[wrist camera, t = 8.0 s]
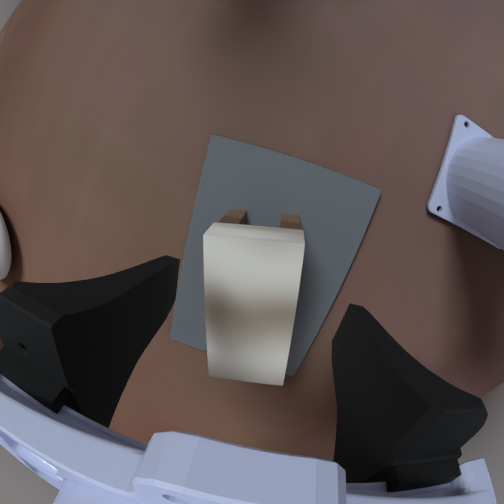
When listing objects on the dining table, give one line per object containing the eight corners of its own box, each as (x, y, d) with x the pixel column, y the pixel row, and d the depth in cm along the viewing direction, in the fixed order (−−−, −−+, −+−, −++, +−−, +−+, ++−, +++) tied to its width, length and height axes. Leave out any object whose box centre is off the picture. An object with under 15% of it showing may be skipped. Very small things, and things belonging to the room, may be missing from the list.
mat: (213, 134, 19) (211, 134, 18) (379, 188, 18) (381, 190, 18) (171, 334, 26) (169, 338, 25) (293, 371, 26) (293, 376, 25)
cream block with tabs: (286, 331, 23) (282, 385, 18) (226, 325, 24) (208, 376, 18) (301, 212, 19) (304, 244, 14) (227, 206, 20) (203, 234, 14)
